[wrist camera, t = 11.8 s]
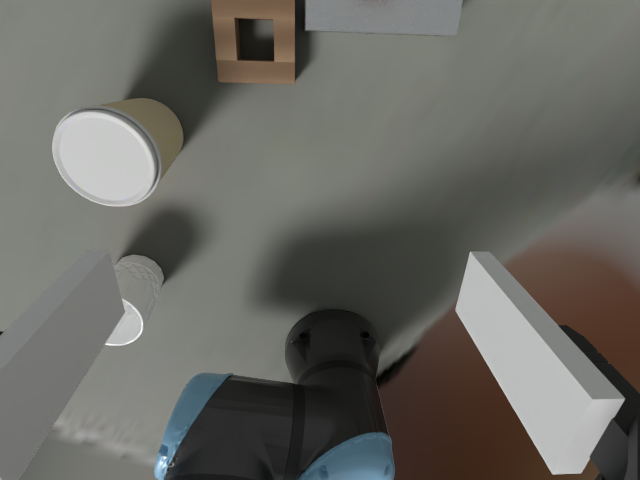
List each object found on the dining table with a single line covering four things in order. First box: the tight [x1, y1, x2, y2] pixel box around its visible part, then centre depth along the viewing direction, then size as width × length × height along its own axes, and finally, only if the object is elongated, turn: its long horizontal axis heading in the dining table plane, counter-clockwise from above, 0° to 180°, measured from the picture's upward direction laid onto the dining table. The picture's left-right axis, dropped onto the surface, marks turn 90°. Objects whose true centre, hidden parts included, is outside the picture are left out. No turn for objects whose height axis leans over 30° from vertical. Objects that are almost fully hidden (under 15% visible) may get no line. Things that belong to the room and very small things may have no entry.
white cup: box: [105, 255, 164, 346], centre depth 49 cm, size 8×8×10 cm
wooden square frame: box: [211, 0, 295, 84], centre depth 39 cm, size 8×8×3 cm
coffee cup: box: [52, 98, 183, 206], centre depth 39 cm, size 9×9×12 cm
